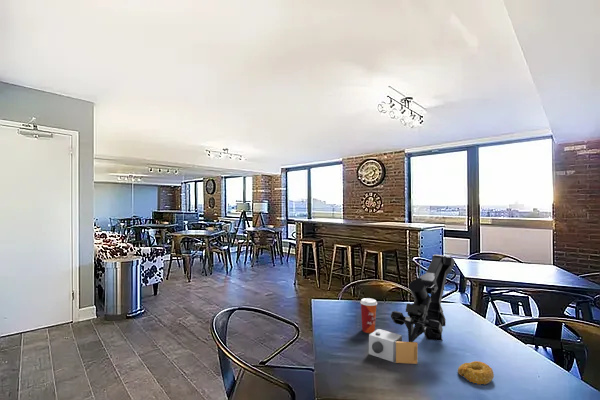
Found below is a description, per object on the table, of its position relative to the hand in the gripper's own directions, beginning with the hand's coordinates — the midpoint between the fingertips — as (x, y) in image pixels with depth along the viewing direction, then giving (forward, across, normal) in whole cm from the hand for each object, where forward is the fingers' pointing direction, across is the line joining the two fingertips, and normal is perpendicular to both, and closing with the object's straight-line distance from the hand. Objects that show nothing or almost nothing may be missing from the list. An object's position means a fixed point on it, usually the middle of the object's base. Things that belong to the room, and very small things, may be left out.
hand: (409, 342), depth 126 cm
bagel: (+3, +22, +7) cm, 23 cm away
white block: (+6, -9, +4) cm, 11 cm away
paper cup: (-6, -25, +16) cm, 31 cm away
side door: (+7, 0, +3) cm, 7 cm away
